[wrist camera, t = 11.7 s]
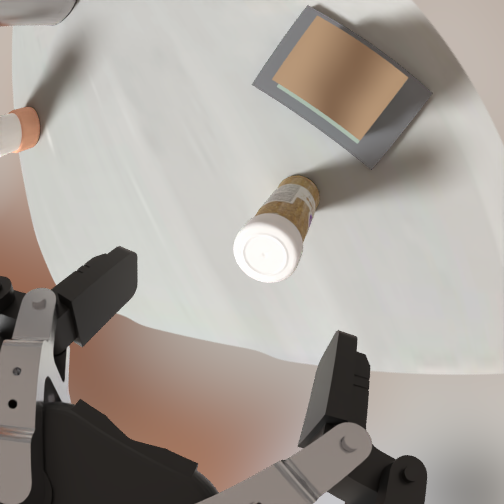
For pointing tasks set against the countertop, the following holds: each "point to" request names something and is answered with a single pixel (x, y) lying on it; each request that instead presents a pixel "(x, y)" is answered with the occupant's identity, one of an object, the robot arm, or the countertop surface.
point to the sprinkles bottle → (277, 231)
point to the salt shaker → (19, 130)
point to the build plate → (382, 123)
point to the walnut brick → (340, 77)
